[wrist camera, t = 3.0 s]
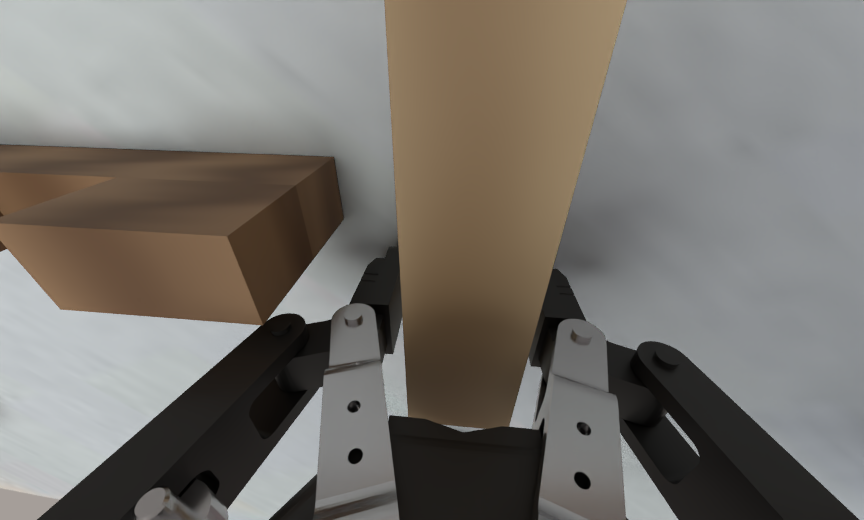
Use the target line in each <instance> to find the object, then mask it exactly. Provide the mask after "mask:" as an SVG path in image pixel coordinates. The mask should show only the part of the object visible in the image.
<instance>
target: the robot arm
mask: <svg viewBox="0 0 864 520" xmlns="http://www.w3.org/2000/svg"><path fill="white" fill-rule="evenodd" d="M401 320H402V299H401V281H400V264H399V247H389V249H388V252H387V254H386V257H385V259H384V258H376V259H374V260H373V261H372V262H371V263H370V264H368V266H367V268H366V270H365V272H364V275H363V276H362V278H361V281H360V283H359V285H358V287H357V289H356V291H355V293H354V295H353V297H352V300H351V302H350V304H349V305H346V306H344V307H342V308H340V309H339V310H337V311H336V312H335V313H334V315H333V317H332V319H331V320H328V321H323V322H317V323H311V324H306V323H305V321H304V319H303V318H302V317H301V316H300V315H297V314H291V313H289V314H281V315H278V316H275V317H273V318H271V319H269V320H268V321H266V322H265V323H264V325H261V326H260V327H259V328H258V329H257V330H256V331H254V332H253V333H252V334H251V335H250V336H249V337H247V338H246V339H245V340H244V341H243V342H242V343H241V344H239V345H238V346H237V347H236V348H235V349H234V350H232V351H231V352H230V353H229V354H228V355H227V356H226V357H224V358H223V359H222V360H221V361H220V362H219V363H217V364H216V365H215V366H214V367H213V368H212V369H211V370H209V371H208V372H207V373H206V374H205V375H204V376H202V377H201V378H200V379H199V380H198V381H197V382H195V383H194V384H193V385H192V386H191V387H190V388H189V389H187V390H186V391H185V392H184V393H183V394H182V395H180V396H179V397H178V398H177V399H176V400H175V401H174V402H172V403H171V404H170V405H169V406H168V407H167V408H165V409H164V410H163V411H162V412H161V413H160V414H159V415H157V416H156V417H155V418H154V419H153V420H152V421H150V422H149V423H148V424H147V425H146V426H145V427H144V428H142V429H141V430H140V431H139V432H138V433H137V434H135V435H134V436H133V437H132V438H131V439H130V440H129V441H127V442H126V443H125V444H124V445H123V446H122V447H120V448H119V449H118V450H117V451H116V452H115V453H114V454H112V455H111V456H110V457H109V458H108V459H107V460H105V461H104V462H103V463H102V464H101V465H100V466H99V467H97V468H96V469H95V470H94V471H93V472H92V473H90V474H89V475H88V476H87V477H86V478H85V479H84V480H82V481H81V482H80V483H79V484H78V485H77V486H75V487H74V488H73V489H72V490H71V491H70V492H69V493H67V494H66V495H65V496H64V497H63V498H62V499H60V500H59V501H58V502H57V503H56V504H55V505H54V506H52V507H51V508H50V509H49V510H48V511H47V512H46V513H44V514H43V515H42V516H41V517H40V518H39V519H37V520H228V511H227V509H228V508H229V506H230V505H231V504H232V502H233V501H234V500H235V498H236V497H237V496H238V494H239V493H240V492H241V491H242V489H243V488H244V487H245V485H246V484H247V483H248V481H249V480H250V479H251V477H252V476H253V475H254V473H255V472H256V471H257V469H258V468H259V467H260V465H261V464H262V463H263V462H264V460H265V459H266V458H267V456H268V455H269V454H270V452H271V451H272V450H273V448H274V447H275V446H276V444H277V443H278V442H279V440H280V439H281V438H282V436H283V435H284V434H285V432H286V431H287V430H288V429H289V427H290V426H291V425H292V423H293V422H294V421H295V419H296V418H297V417H298V415H299V414H300V413H301V411H302V410H303V409H304V407H305V406H306V405H307V403H308V402H309V401H310V400H311V398H312V397H313V396H314V394H315V393H316V392H317V390H318V389H319V387H323V395H322V411H321V426H320V441H319V457H318V472H317V474H316V475H315V476H314V477H313V478H312V479H311V480H310V481H309V482H308V483H307V484H306V485H305V486H304V487H303V488H302V489H301V490H300V491H298V492H297V493H296V494H295V495H294V496H293V497H292V498H291V499H290V500H289V501H288V502H287V503H286V504H285V505H284V506H283V507H282V508H281V509H280V510H278V511H277V512H276V513H275V514H274V515H273V516H272V517H271V518H270V519H269V520H628V519H627V518H626V512H625V498H624V483H623V468H622V454H621V439H620V433H621V435H622V436H623V438H624V439H625V441H626V442H627V443H628V445H629V446H630V448H631V449H632V451H633V452H634V454H635V455H636V457H637V458H638V460H639V461H640V463H641V464H642V466H643V467H644V469H645V470H646V472H647V473H648V475H649V476H650V478H651V479H652V481H653V482H654V484H655V485H656V487H657V488H658V490H659V491H660V493H661V494H662V496H663V497H664V499H665V500H666V502H667V503H668V505H669V506H670V508H671V509H672V511H673V512H674V514H675V515H676V517H677V518H678V520H859V519H858V518H857V517H856V516H855V515H854V514H853V513H851V512H850V511H849V510H848V509H847V508H846V507H845V506H844V505H843V504H842V503H841V502H840V501H839V500H838V499H837V498H836V497H835V496H833V495H832V494H831V493H830V492H829V491H828V490H827V489H826V488H825V487H824V486H823V485H822V484H821V483H820V482H819V481H818V480H816V479H815V478H814V477H813V476H812V475H811V474H810V473H809V472H808V471H807V470H806V469H805V468H804V467H803V466H802V465H801V464H800V463H798V462H797V461H796V460H795V459H794V458H793V457H792V456H791V455H790V454H789V453H788V452H787V451H786V450H785V449H784V448H783V447H781V446H780V445H779V444H778V443H777V442H776V441H775V440H774V439H773V438H772V437H771V436H770V435H769V434H768V433H767V432H766V431H765V430H763V429H762V428H761V427H760V426H759V425H758V424H757V423H756V422H755V421H754V420H753V419H752V418H751V417H750V416H749V415H748V414H746V413H745V412H744V411H743V410H742V409H741V408H740V407H739V406H738V405H737V404H736V403H735V402H734V401H733V400H732V399H731V398H730V397H728V396H727V395H726V394H725V393H724V392H723V391H722V390H721V389H720V388H719V387H718V386H717V385H716V384H715V383H714V382H713V381H711V380H710V379H709V378H708V377H707V376H706V375H705V374H704V373H703V372H702V371H701V370H700V369H699V368H698V367H697V366H696V365H695V364H693V363H692V362H691V361H690V360H689V359H688V358H687V357H686V356H685V355H684V354H682V353H681V352H680V351H678V350H676V349H675V348H673V347H671V346H668V345H666V344H663V343H659V342H652V341H649V342H644V343H642V344H640V345H639V347H638V348H637V350H633V349H630V348H626V347H623V346H620V345H616V344H613V343H611V342H608V341H606V338H605V336H604V334H603V333H602V332H601V330H599V329H598V328H597V327H596V326H594V325H593V324H591V323H589V322H587V321H586V320H585V317H584V315H583V313H582V311H581V309H580V306H579V304H578V302H577V300H576V298H575V296H574V293H573V291H572V289H571V288H570V285H569V282H568V280H567V278H566V277H565V276H564V275H563V274H562V273H561V272H560V271H559V270H557V269H552V273H551V276H550V280H549V283H548V287H547V291H546V294H545V298H544V302H543V305H542V309H541V312H540V316H539V320H538V323H537V327H536V330H535V334H534V338H533V341H532V345H531V348H530V352H529V360H530V365H531V366H536V367H541V370H542V377H541V380H540V384H539V390H538V396H537V402H536V407H535V413H534V419H533V425H532V429H526V428H515V427H505V426H500V427H495V428H489V429H483V430H477V431H471V432H460V431H457V430H454V429H452V428H449V427H446V426H444V425H441V424H438V423H436V422H433V421H430V420H427V419H423V418H412V417H402V416H392V415H390V416H389V421H388V415H387V407H386V398H385V390H384V382H383V373H382V362H383V358H384V355H385V354H393V352H394V348H395V344H396V340H397V336H398V332H399V328H400V324H401ZM667 412H668V413H669V414H670V415H671V417H672V418H673V419H674V420H675V421H676V423H677V424H678V425H679V426H680V427H681V429H682V430H683V431H684V432H685V433H686V434H687V436H688V437H689V438H690V439H691V440H692V442H693V443H694V444H695V446H696V448H697V450H698V452H699V456H700V457H699V456H698V455H697V454H696V453H695V451H694V450H693V449H692V448H691V447H690V445H689V444H688V443H687V442H686V441H685V439H684V438H683V437H682V436H681V435H680V433H679V432H678V431H677V430H676V428H675V427H674V426H673V425H672V424H671V422H670V421H669V420H668V419H667V418H666V416H665V415H666V414H667Z"/></svg>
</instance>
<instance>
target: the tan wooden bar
mask: <svg viewBox="0 0 864 520" xmlns="http://www.w3.org/2000/svg"><path fill="white" fill-rule="evenodd" d="M384 1H385V19H386V36H387V54H388V71H389V89H390V106H391V124H392V141H393V159H394V176H395V194H396V211H397V229H398V246H399V264H400V281H401V299H402V316H403V334H404V351H405V369H406V386H407V404H408V417H412V418H423V419H427V420H430V421H433V422H436V423H438V424H442V425H453V426H463V427H473V428H483V429H489V428H495V427H500V426H505V427H509V424H510V421H511V417H512V413H513V410H514V406H515V403H516V399H517V395H518V392H519V388H520V385H521V381H522V377H523V374H524V370H525V367H526V363H527V359H528V356H529V352H530V348H531V345H532V341H533V338H534V334H535V330H536V327H537V323H538V320H539V316H540V312H541V309H542V305H543V302H544V298H545V294H546V291H547V287H548V283H549V280H550V276H551V273H552V269H553V265H554V262H555V258H556V255H557V251H558V247H559V244H560V240H561V237H562V233H563V229H564V226H565V222H566V219H567V215H568V211H569V208H570V204H571V200H572V197H573V193H574V190H575V186H576V182H577V179H578V175H579V172H580V168H581V164H582V161H583V157H584V154H585V150H586V146H587V143H588V139H589V135H590V132H591V128H592V125H593V121H594V117H595V114H596V110H597V107H598V103H599V99H600V96H601V92H602V89H603V85H604V81H605V78H606V74H607V71H608V67H609V63H610V60H611V56H612V52H613V49H614V45H615V42H616V38H617V34H618V31H619V27H620V24H621V20H622V16H623V13H624V9H625V6H626V2H627V0H384Z"/></svg>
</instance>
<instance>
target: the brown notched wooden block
mask: <svg viewBox="0 0 864 520" xmlns="http://www.w3.org/2000/svg"><path fill="white" fill-rule="evenodd" d="M343 220H344V217H343V211H342V205H341V199H340V193H339V187H338V180H337V174H336V168H335V162H334V157H321V156H294V155H268V154H241V153H214V152H187V151H160V150H133V149H106V148H79V147H52V146H25V145H0V252H1V251H3V250H5V249H8V250H9V251H10V252H11V253H12V255H13V256H14V257H15V258H16V259H17V260H18V261H19V263H20V264H21V265H22V266H23V267H24V268H25V269H26V271H27V272H28V273H29V274H30V275H31V276H32V277H33V279H34V280H35V281H36V282H37V283H38V284H39V285H40V287H41V288H42V289H43V290H44V291H45V292H46V293H47V294H48V296H49V297H50V298H51V299H52V300H53V301H54V302H55V304H56V305H57V306H58V307H59V308H60V309H63V310H75V311H88V312H101V313H113V314H126V315H139V316H152V317H164V318H177V319H190V320H203V321H215V322H228V323H241V324H253V325H264V323H265V322H266V321H267V320H268V318H269V317H270V316H271V314H272V313H273V312H274V310H275V309H276V308H277V306H278V305H279V304H280V302H281V301H282V300H283V298H284V297H285V296H286V295H287V293H288V292H289V291H290V289H291V288H292V287H293V285H294V284H295V283H296V281H297V280H298V279H299V277H300V276H301V275H302V273H303V272H304V271H305V270H306V268H307V267H308V266H309V264H310V263H311V262H312V260H313V259H314V258H315V256H316V255H317V254H318V252H319V251H320V250H321V249H322V247H323V246H324V245H325V243H326V242H327V241H328V239H329V238H330V237H331V235H332V234H333V233H334V231H335V230H336V229H337V227H338V226H339V225H340V224H341V222H342V221H343Z"/></svg>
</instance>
